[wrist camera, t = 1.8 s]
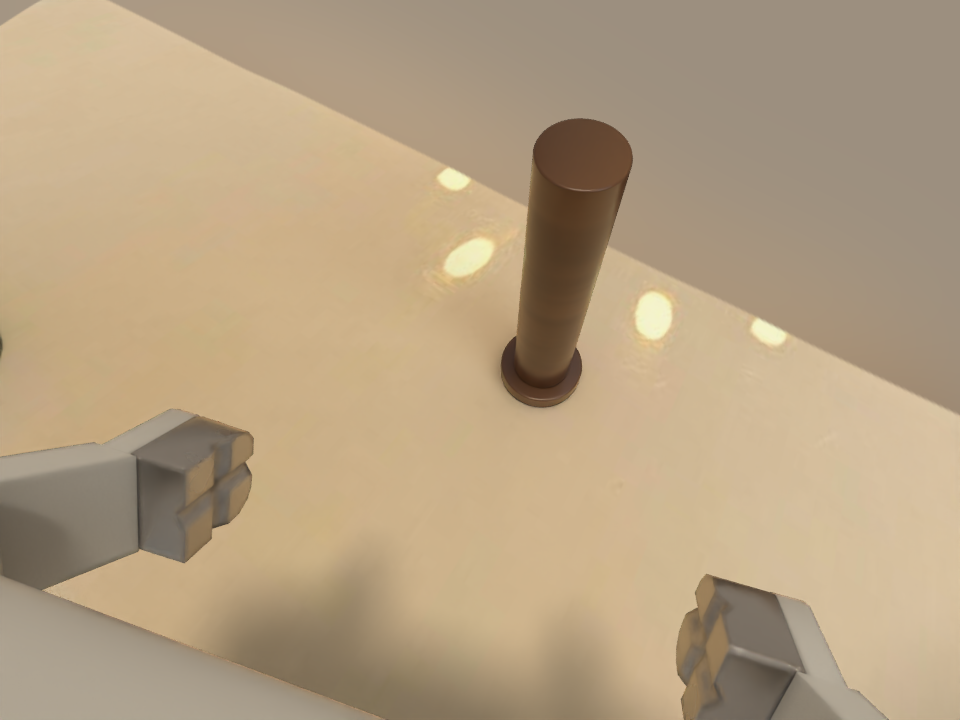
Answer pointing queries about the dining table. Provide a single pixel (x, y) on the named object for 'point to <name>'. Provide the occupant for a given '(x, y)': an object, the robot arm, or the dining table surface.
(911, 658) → the dining table surface
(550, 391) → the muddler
